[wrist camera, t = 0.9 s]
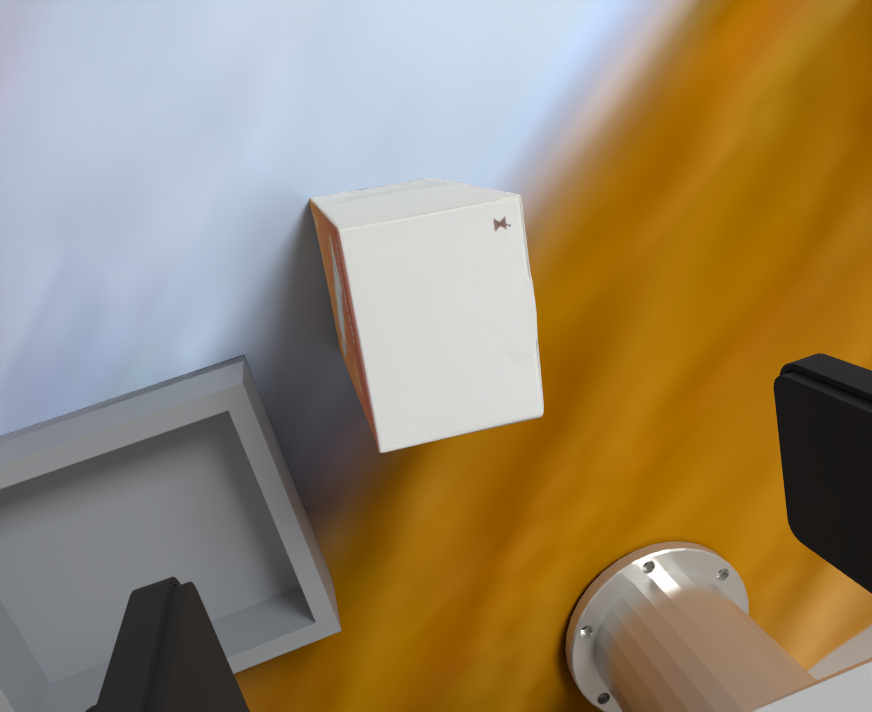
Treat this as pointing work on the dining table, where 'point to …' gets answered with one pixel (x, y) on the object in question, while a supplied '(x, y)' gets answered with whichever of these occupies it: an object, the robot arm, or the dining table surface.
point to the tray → (151, 533)
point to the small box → (432, 307)
